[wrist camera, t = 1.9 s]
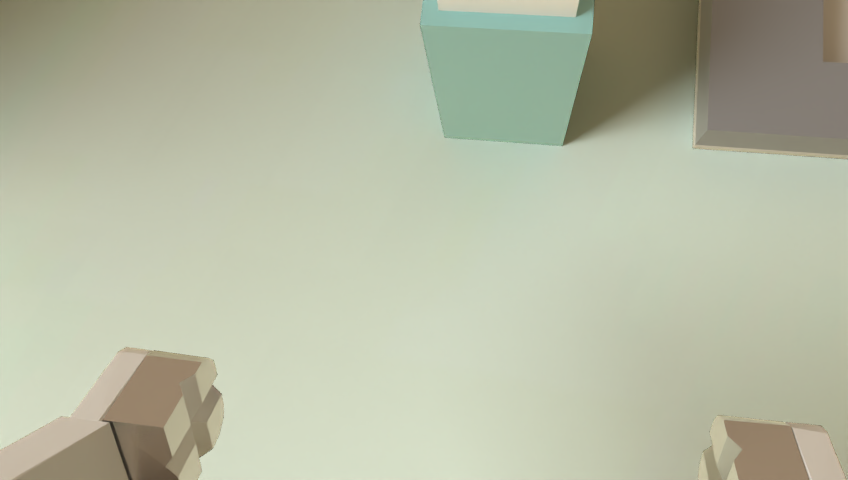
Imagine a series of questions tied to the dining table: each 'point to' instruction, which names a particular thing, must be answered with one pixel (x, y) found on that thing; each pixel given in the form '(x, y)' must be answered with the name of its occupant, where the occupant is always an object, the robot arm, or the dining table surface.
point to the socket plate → (772, 77)
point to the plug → (506, 66)
